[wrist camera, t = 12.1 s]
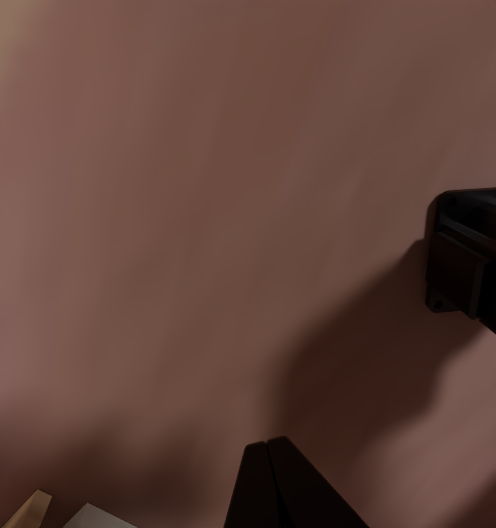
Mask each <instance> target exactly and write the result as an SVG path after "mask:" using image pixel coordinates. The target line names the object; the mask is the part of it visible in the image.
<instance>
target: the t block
mask: <svg viewBox="0 0 496 528" xmlns="http://www.w3.org/2000/svg"><path fill="white" fill-rule="evenodd" d="M62 528H137V527H135V526H133V525H131V524H129V523H127V522H125V521H123V520H121V519H119V518H117V517H115V516H113V515H111V514H109V513H107V512H105V511H103V510H101V509H99V508H97V507H95V506H93V505H91V504H89V503H86V504H85V505H84V506H83V507H82V508H81V509H80V510H79V511H78V512H77V513H76V514H75V515H74V516H73V517H72V518H71V519H70V520H69V521H68V522H67V523H66V524H65V525H64V526H63V527H62Z"/></svg>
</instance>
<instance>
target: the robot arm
mask: <svg viewBox="0 0 496 528" xmlns="http://www.w3.org/2000/svg"><path fill="white" fill-rule="evenodd" d="M451 197H452V203H451V204H450V205H448V206H447V200H448V199H449V198H451ZM426 282H427V283H428V284H427V293H426V301H425V303H426V306H427V308H428V309H429V310H431V311H432V312H434V313H440V312H452V311H462V312H463V313H464V314H465V315H466V316H468V317H469V318H470V319H472V320H479V321H480V322H481V323H482V324H484V325H485V326H486V327H487V328H488V329H490V330H491V331H492V332H493V333H495V334H496V187H494V188H479V189H465V190H450V191H445V192H443V193H442V194H441V195H440V196H439V198H438V201H437V209H436V218H435V226H434V233H433V234H432V236H431V237H430V245H429V254H428V262H427V271H426ZM437 300H439V302H438V303H437V304H436V305H434V302H436V301H437ZM267 448H268V449H267ZM269 457H270V458H269ZM283 517H284V518H283ZM285 526H286V527H285ZM223 528H370V527H369V526H368V525H367V524H366V523H365V522H364V521H363V520H362V519H361V518H360V516H359V515H358V514H357V513H356V512H355V511H354V510H353V509H352V508H351V507H350V505H349V504H348V503H347V502H346V501H345V500H344V499H343V498H342V497H341V496H340V494H339V493H338V492H337V491H336V490H335V489H334V488H333V487H332V486H331V485H330V484H329V482H328V481H327V480H326V479H325V478H324V477H323V476H322V475H321V474H320V473H319V471H318V470H317V469H316V468H315V467H314V466H313V465H312V464H311V463H310V462H309V460H308V459H307V458H306V457H305V456H304V455H303V454H302V453H301V452H300V451H299V449H298V448H297V447H296V446H295V445H294V444H293V443H292V442H291V441H290V440H289V439H288V438H287V437H286V436H280V437H276V438H272V439H269V440H267V445H266V443H265V442H264V441H260V442H256V443H252V444H248V445H247V446H246V447H245V449H244V453H243V456H242V460H241V464H240V468H239V471H238V475H237V479H236V483H235V486H234V490H233V494H232V497H231V501H230V505H229V509H228V512H227V516H226V520H225V523H224V527H223Z"/></svg>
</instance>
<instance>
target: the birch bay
mask: <svg viewBox="0 0 496 528" xmlns="http://www.w3.org/2000/svg"><path fill="white" fill-rule="evenodd" d="M51 498H52V496H51V495H49V494H47V493H45V492H43V491H40V490H38V489H37V490H36V491H35V492H34V494H33V495H32V496H31V497H30V498H29V499H28V500H27V501H26V502H25V503H24V504H23V505H22V506H21V507H20V508H19V509H18V511H17V512H16V513H15V514H14V515H13V516H12V517H11V518H10V519H9V520H8V521H7V522H6V523H5V524H4V525H3V526H2V527H1V528H40V525H41V523H42V520H43V518H44V515H45V513H46V510H47V508H48V506H49V503H50V501H51Z"/></svg>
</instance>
